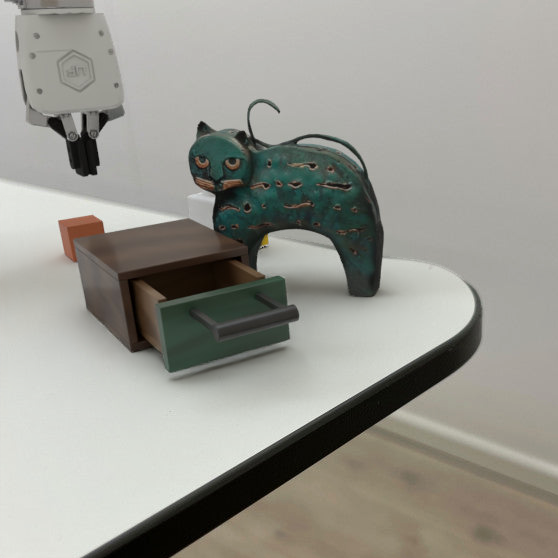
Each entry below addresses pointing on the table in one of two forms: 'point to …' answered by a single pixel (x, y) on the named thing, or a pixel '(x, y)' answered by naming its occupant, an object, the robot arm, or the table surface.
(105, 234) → the cabinet
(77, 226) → the block
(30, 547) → the table surface
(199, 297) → the drawer
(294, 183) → the ceramic cat
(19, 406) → the table surface
